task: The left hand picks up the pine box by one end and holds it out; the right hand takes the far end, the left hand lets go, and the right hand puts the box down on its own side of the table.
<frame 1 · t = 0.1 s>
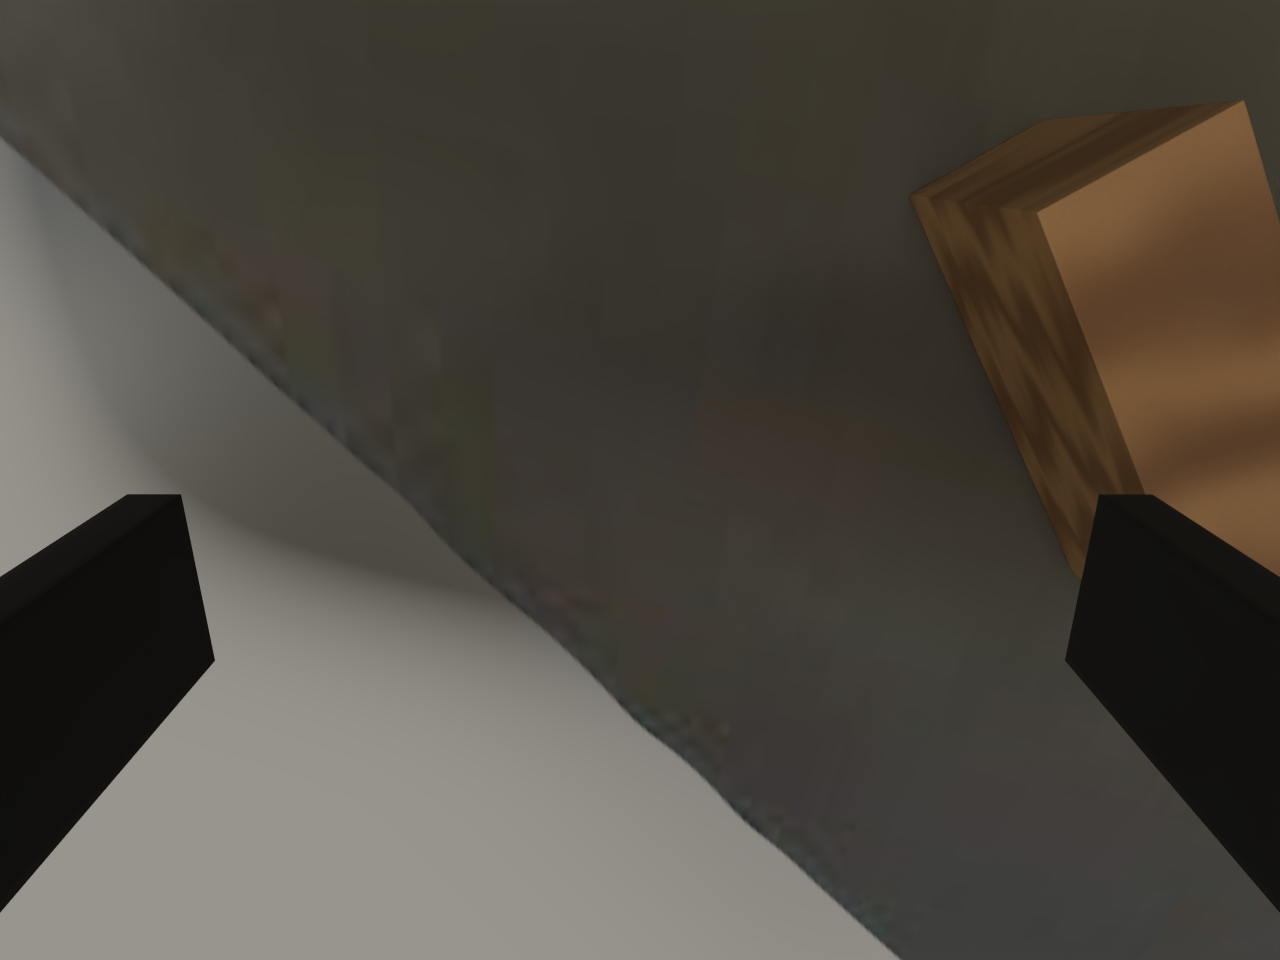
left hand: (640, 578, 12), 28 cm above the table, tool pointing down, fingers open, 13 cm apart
box: (1058, 366, 40), on the table
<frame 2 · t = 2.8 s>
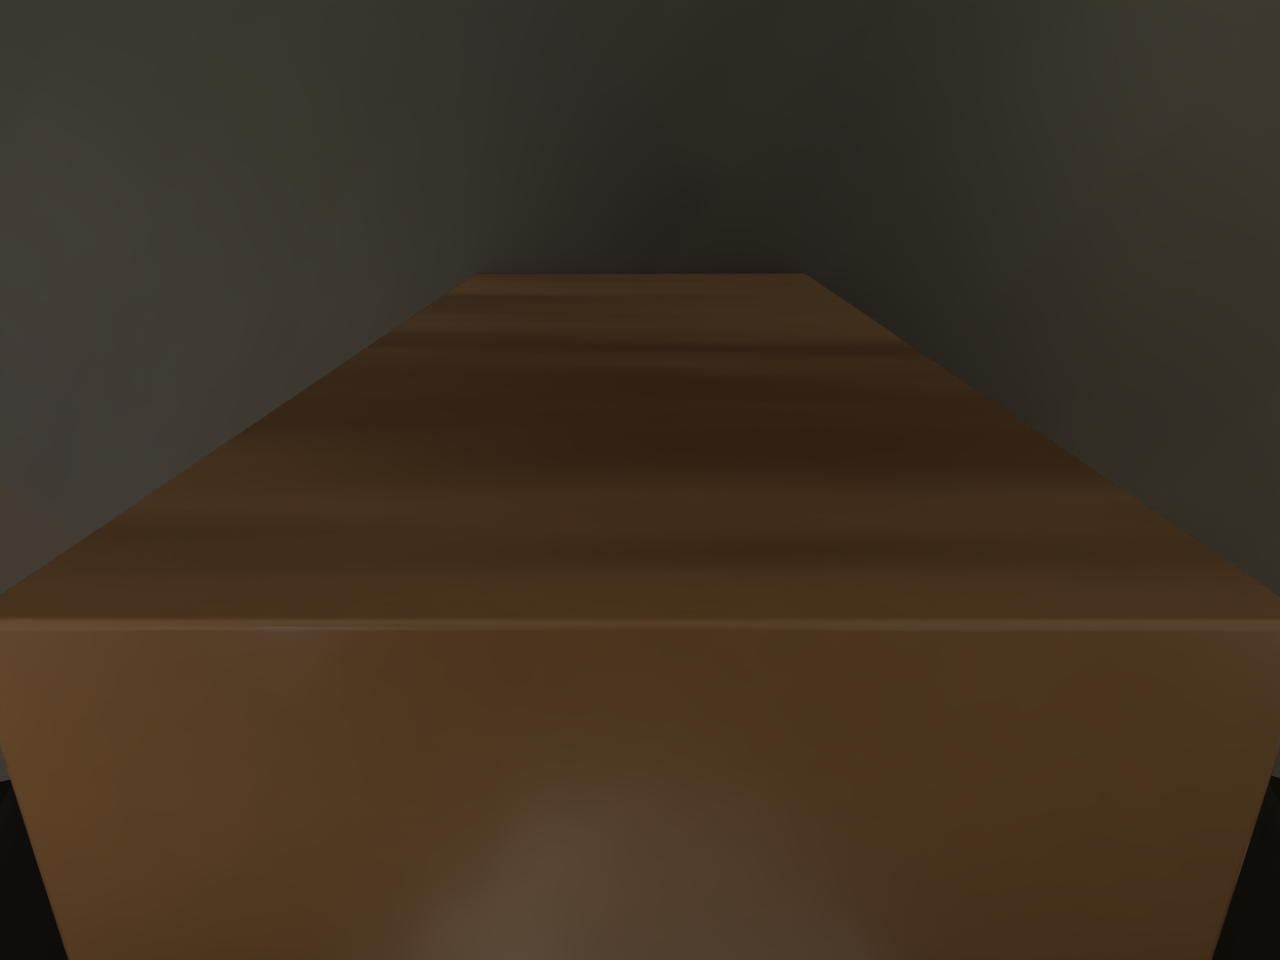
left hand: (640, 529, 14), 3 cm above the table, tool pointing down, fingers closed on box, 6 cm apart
box: (640, 740, 19), on the table, touching left hand
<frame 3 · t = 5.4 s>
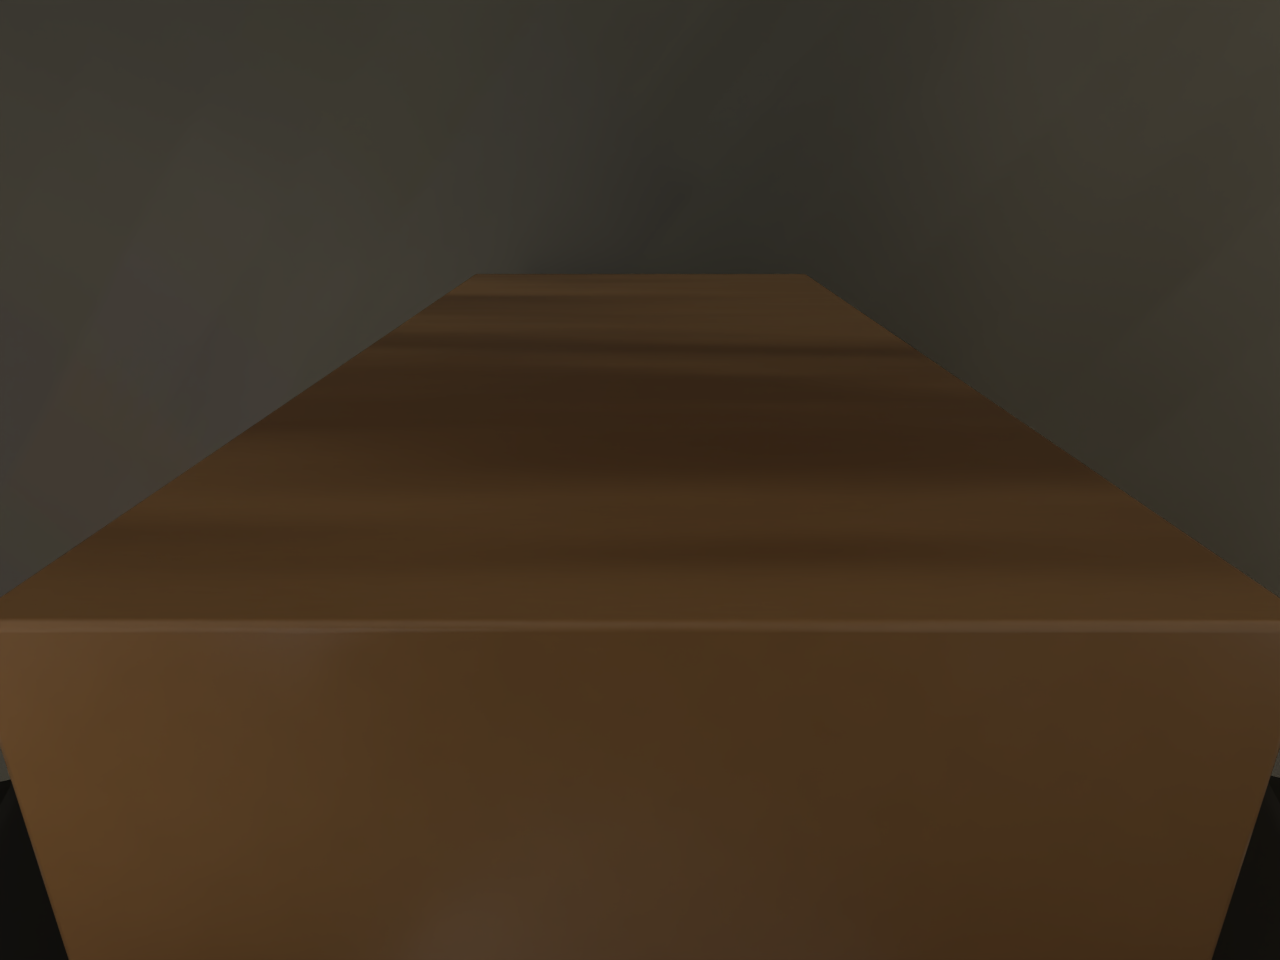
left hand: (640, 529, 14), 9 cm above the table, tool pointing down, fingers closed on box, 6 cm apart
box: (640, 740, 19), point 6 cm above the table, touching left hand
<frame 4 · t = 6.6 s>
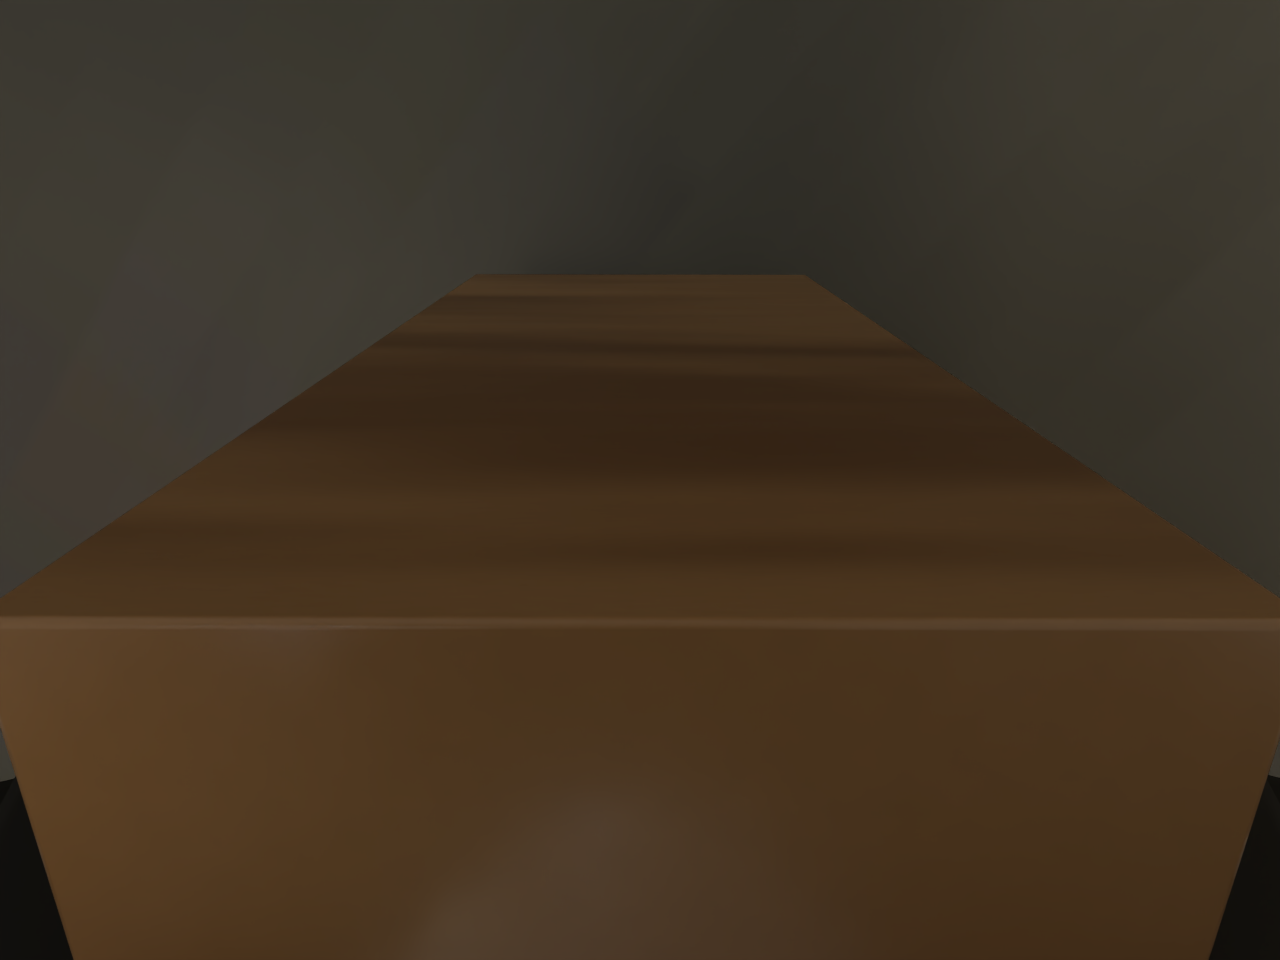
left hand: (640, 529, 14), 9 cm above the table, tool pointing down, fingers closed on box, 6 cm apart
box: (639, 741, 19), point 6 cm above the table, touching left hand, right hand
when the left hand's fingers open (9 cm above the table, at t = 7.8 s): box stays where it is, held by the right hand.
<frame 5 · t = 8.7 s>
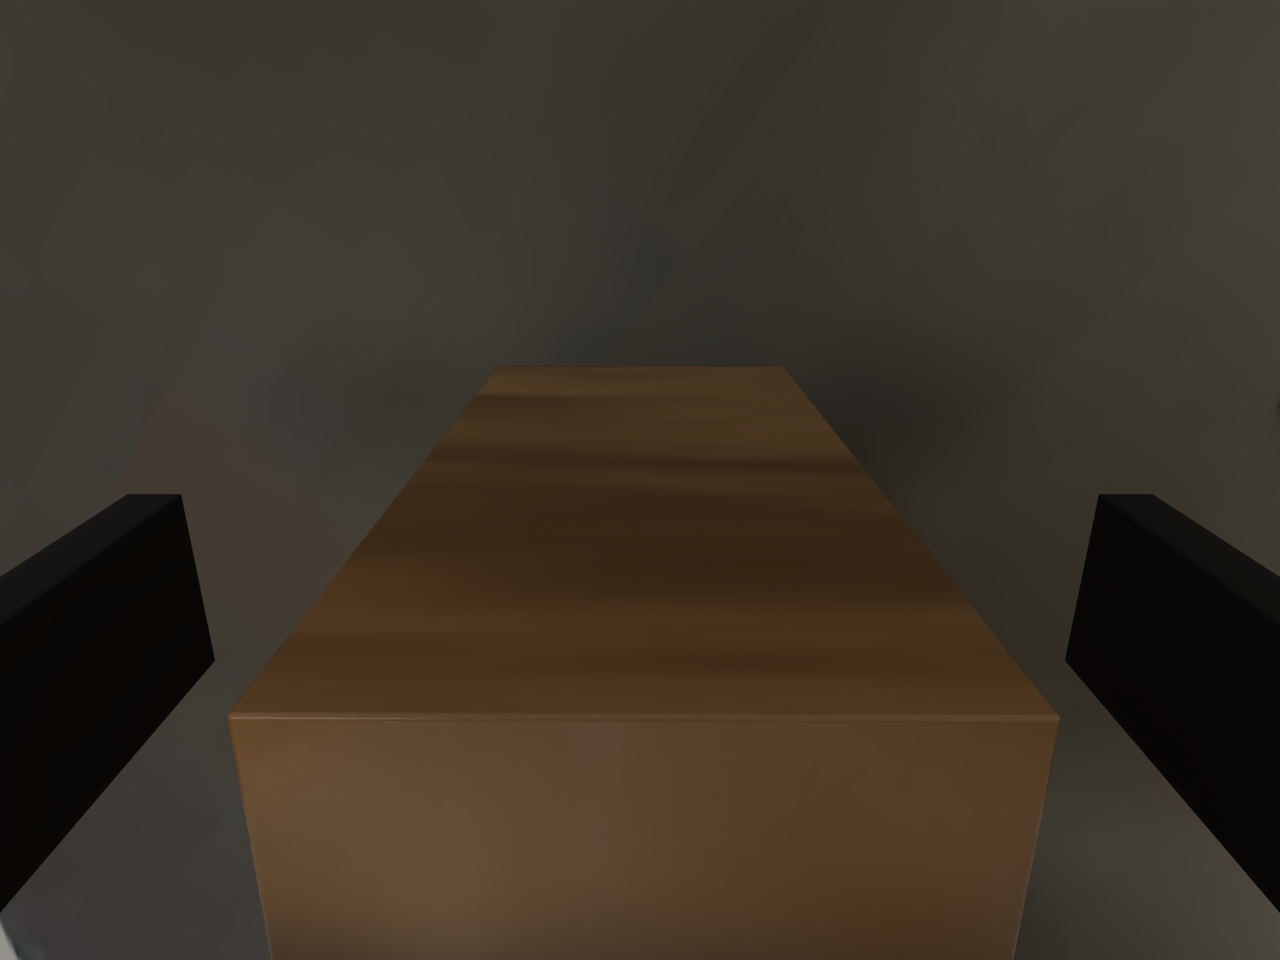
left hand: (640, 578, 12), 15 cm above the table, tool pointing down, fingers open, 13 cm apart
box: (639, 770, 22), point 8 cm above the table, touching right hand
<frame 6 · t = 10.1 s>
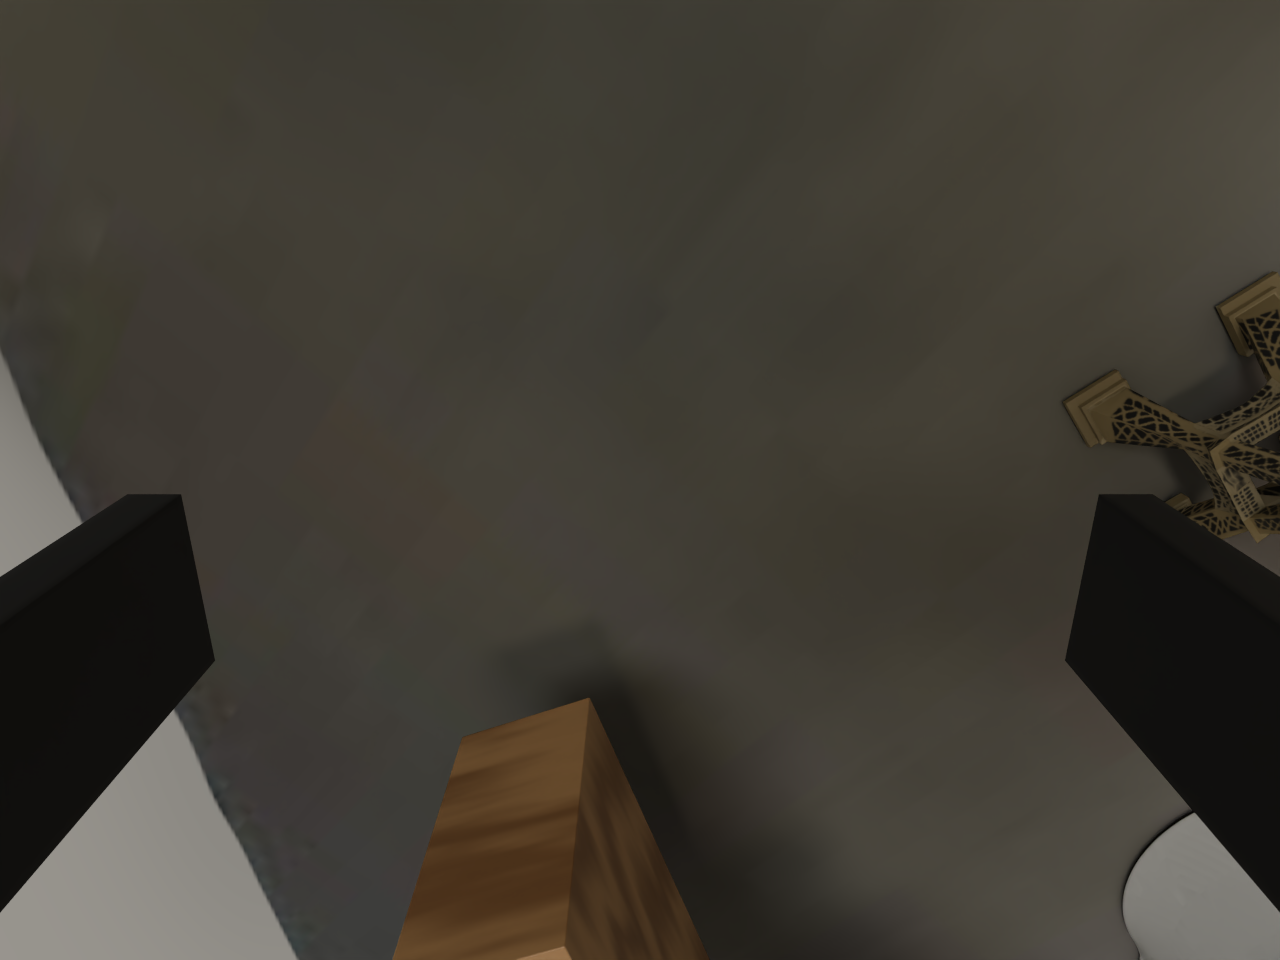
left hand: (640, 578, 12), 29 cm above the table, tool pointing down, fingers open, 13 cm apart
eiffel tower: (1206, 424, 42), on the table
box: (609, 886, 41), point 8 cm above the table, touching right hand
when the right hand's fingers open (9 cm above the table, at t = 13.6 s): box drops 1 cm, on the table.
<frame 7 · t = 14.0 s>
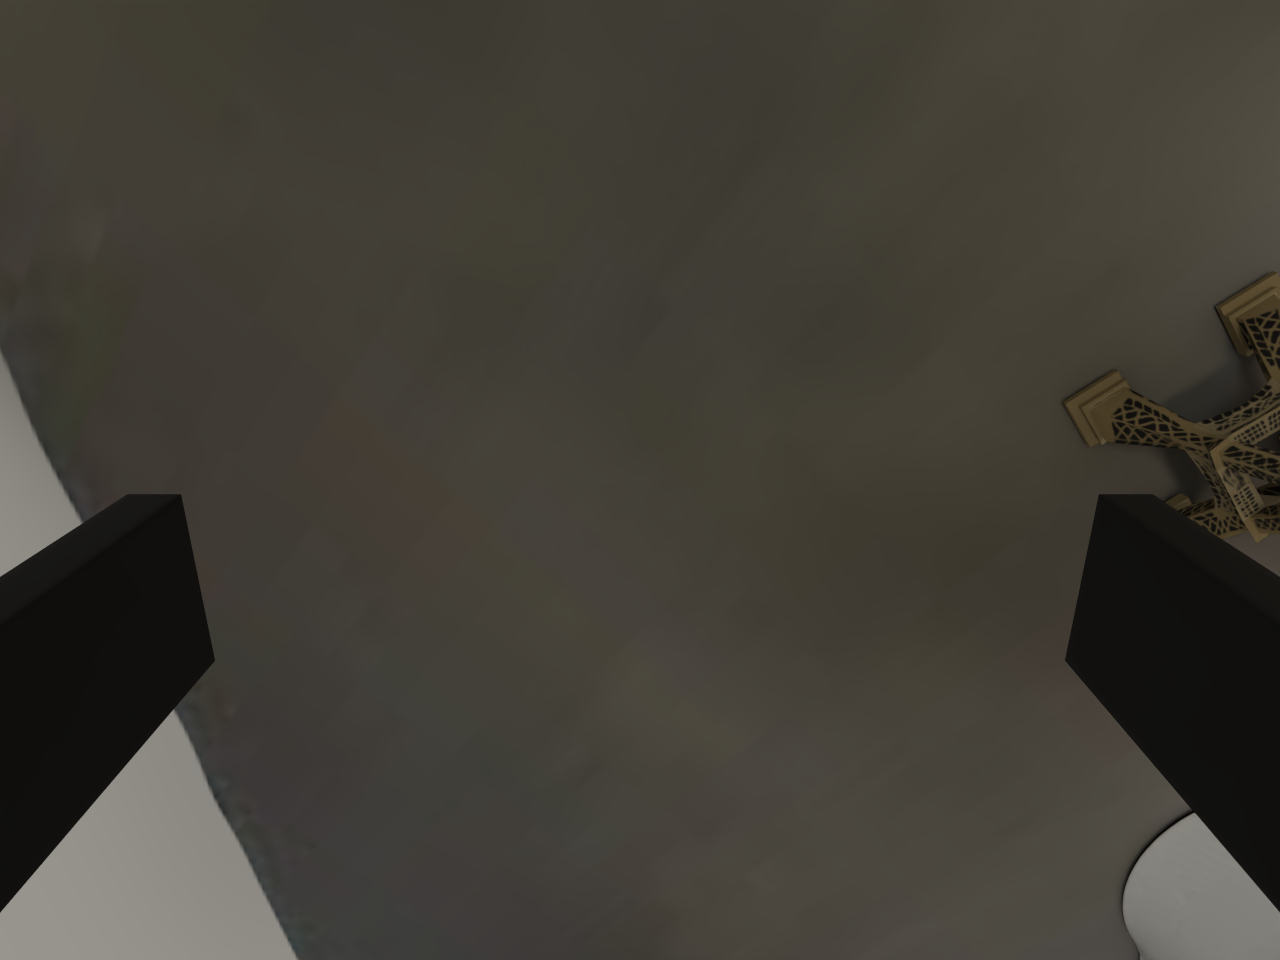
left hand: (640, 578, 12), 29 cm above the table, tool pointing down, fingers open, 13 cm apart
eiffel tower: (1206, 424, 42), on the table
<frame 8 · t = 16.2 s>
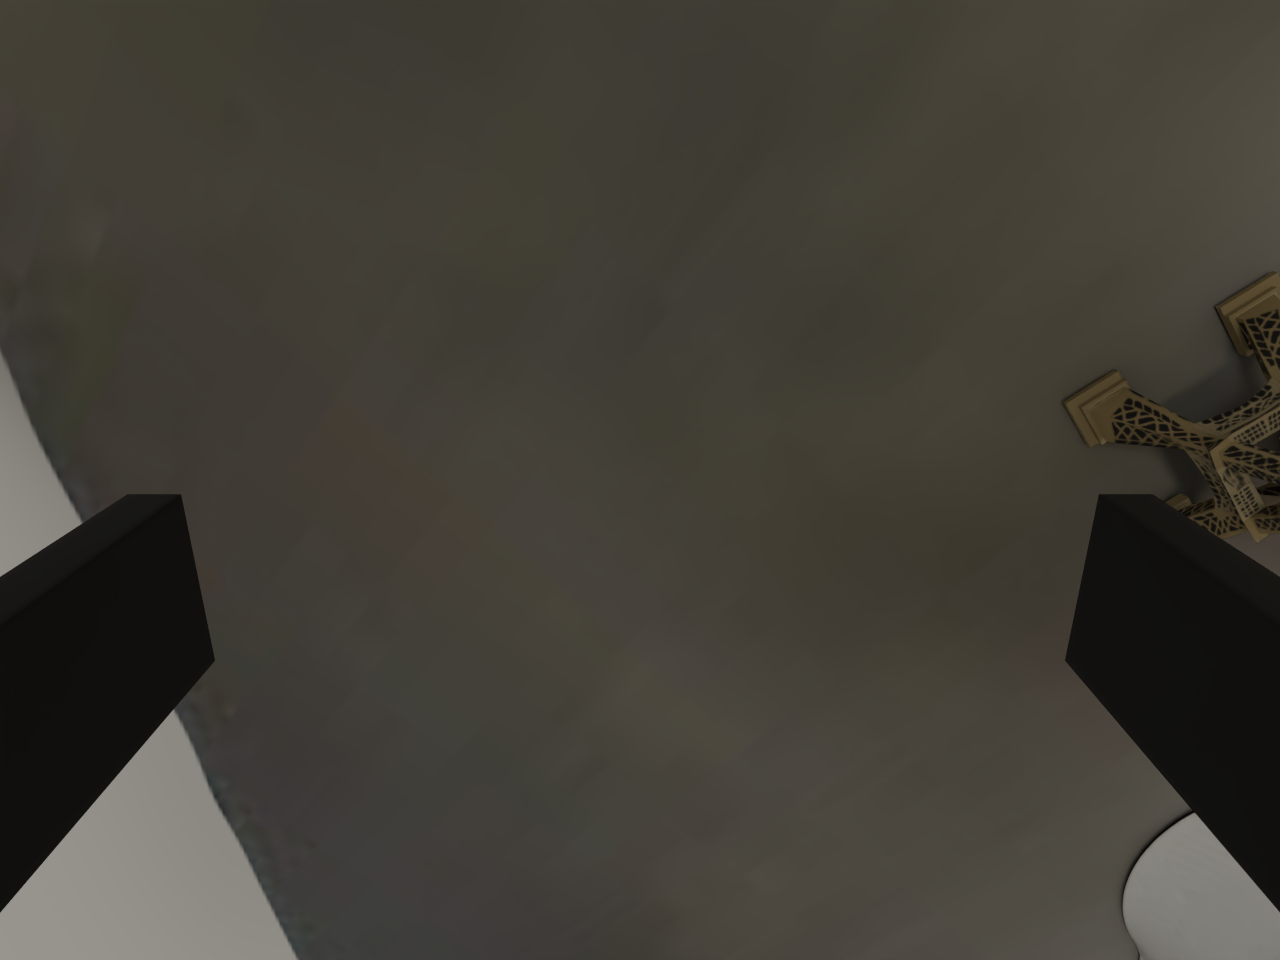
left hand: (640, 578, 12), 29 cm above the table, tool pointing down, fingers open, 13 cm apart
eiffel tower: (1206, 424, 42), on the table
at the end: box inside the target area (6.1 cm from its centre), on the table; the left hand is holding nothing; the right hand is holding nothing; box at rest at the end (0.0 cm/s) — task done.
